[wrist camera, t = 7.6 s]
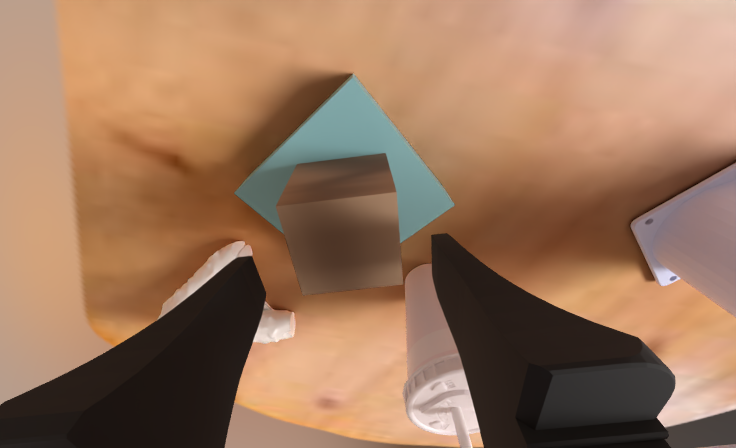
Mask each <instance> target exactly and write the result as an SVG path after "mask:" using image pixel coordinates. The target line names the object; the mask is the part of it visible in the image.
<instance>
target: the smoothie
mask: <svg viewBox="0 0 736 448" xmlns="http://www.w3.org/2000/svg"><path fill="white" fill-rule="evenodd" d="M405 306H406V339H407V373H408V380H407V381H406V383H405V384H404V389H403V397H404V401H405V407H406V413H407V416H408V418H409V419H410V421H411V422H412V423H414V424H415V425H416V426H418V427H419V428H421V429H423V430H425V431H428V432H431V433H436V434H441V435H457V437H458V440H459V444H460V448H473V447H472V444H471V440H470V437H469V434H472V433H477V432H480V429H479V425H478V421H477V417H476V413H475V410H474V406H473V402H472V398H471V395H470V391H469V387H468V383H467V380H466V376H465V373H464V369H463V365H462V362H461V358H460V355H459V352H458V350H457V347H456V344H455V342H454V339H453V336H452V334H451V331H450V329H449V326H448V324H447V321H446V319H445V316H444V313H443V311H442V308H441V306H440V303H439V300H438V298H437V294H436V290H435V286H434V282H433V278H432V263H429V264H423V265H420V266H418V267H416V268H414V269H413V270H411V271H410V272H409V274H408V275H407V277H406V279H405Z"/></svg>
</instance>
